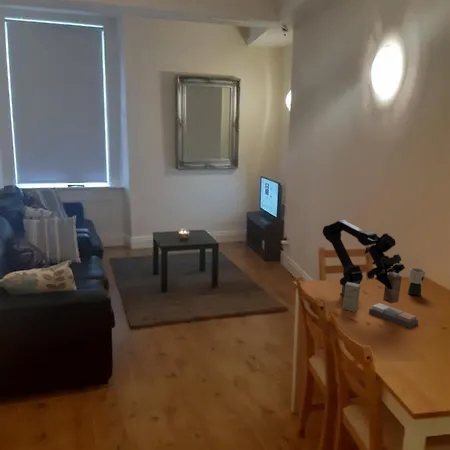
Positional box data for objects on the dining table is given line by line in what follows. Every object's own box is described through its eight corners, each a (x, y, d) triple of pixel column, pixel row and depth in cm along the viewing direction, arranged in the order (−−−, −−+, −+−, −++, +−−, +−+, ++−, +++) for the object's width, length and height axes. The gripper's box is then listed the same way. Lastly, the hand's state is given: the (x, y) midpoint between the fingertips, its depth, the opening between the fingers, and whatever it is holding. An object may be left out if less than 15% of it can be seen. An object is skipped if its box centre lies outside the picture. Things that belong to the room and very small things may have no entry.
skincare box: (341, 309, 222) (344, 284, 219) (344, 306, 226) (347, 281, 223) (355, 312, 219) (358, 286, 217) (357, 309, 223) (360, 284, 220)
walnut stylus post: (383, 300, 217) (386, 272, 214) (390, 298, 219) (393, 271, 216) (391, 303, 213) (395, 276, 210) (398, 302, 216) (401, 274, 213)
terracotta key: (396, 319, 210) (397, 314, 210) (403, 316, 214) (404, 311, 213) (408, 323, 206) (409, 319, 205) (415, 320, 209) (416, 316, 209)
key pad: (368, 312, 219) (369, 305, 219) (377, 309, 224) (378, 302, 223) (409, 328, 205) (410, 320, 204) (417, 324, 210) (418, 316, 209)
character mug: (421, 299, 240) (425, 274, 237) (406, 296, 243) (409, 271, 240) (421, 292, 250) (425, 268, 247) (407, 289, 253) (410, 265, 250)
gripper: (375, 250, 210) (392, 282, 203) (404, 246, 219) (421, 277, 212) (359, 262, 218) (375, 294, 211) (388, 258, 227) (404, 288, 221)
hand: (395, 288), depth 214 cm, fingers closed on walnut stylus post, 4 cm apart
